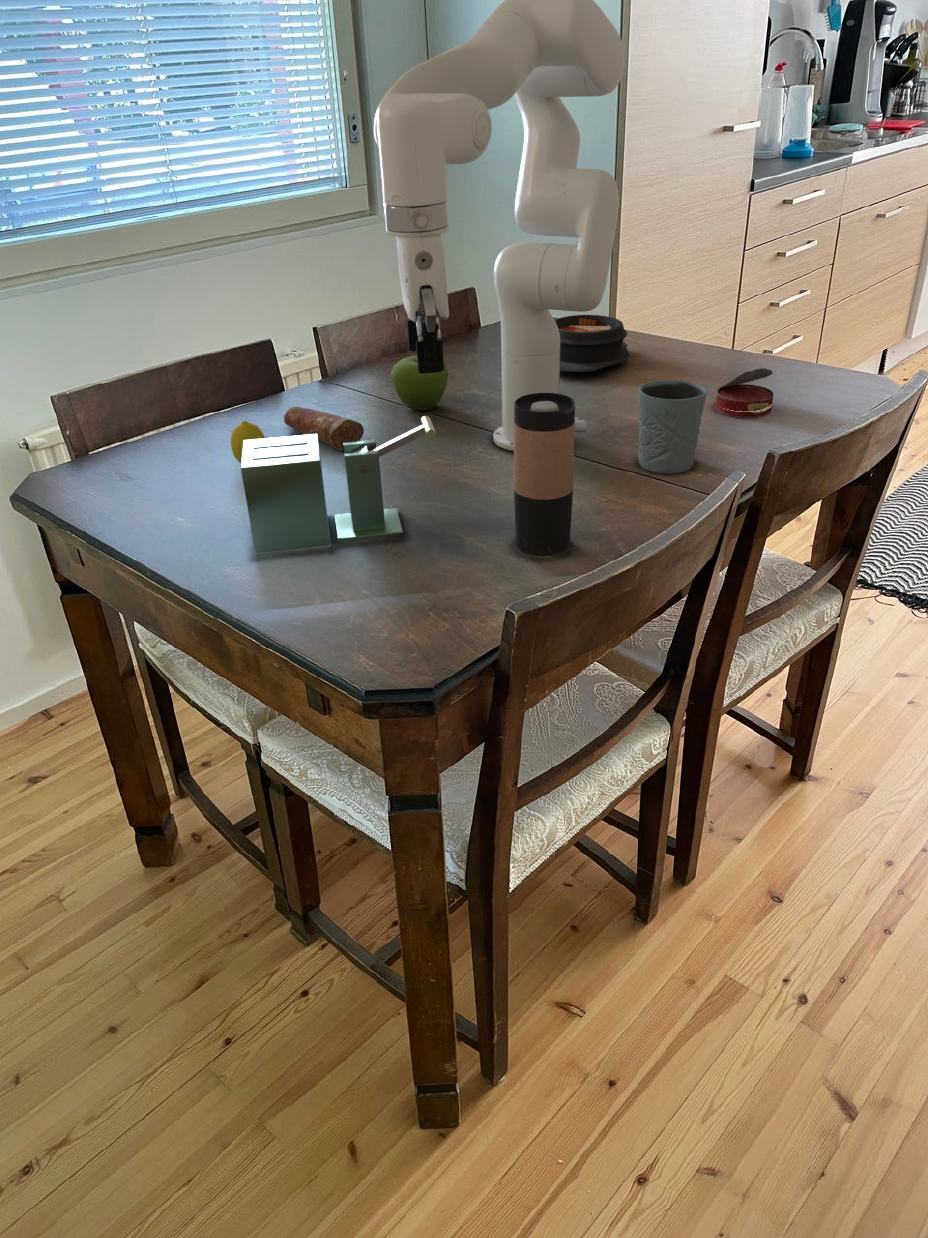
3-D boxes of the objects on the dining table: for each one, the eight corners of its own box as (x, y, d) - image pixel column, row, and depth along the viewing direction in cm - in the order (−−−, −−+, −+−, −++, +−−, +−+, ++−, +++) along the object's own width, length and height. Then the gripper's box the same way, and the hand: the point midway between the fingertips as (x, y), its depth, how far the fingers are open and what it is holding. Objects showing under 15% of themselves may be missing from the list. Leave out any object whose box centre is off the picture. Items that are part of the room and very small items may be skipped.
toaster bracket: (397, 515, 134) (391, 434, 127) (403, 539, 127) (397, 455, 121) (335, 521, 133) (325, 440, 126) (338, 546, 126) (328, 461, 120)
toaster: (328, 519, 133) (317, 432, 127) (331, 550, 125) (320, 459, 118) (257, 526, 132) (242, 439, 125) (255, 558, 124) (240, 467, 117)
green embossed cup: (628, 471, 145) (633, 396, 138) (640, 448, 153) (645, 376, 147) (693, 478, 142) (701, 401, 135) (703, 454, 150) (711, 381, 143)
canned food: (723, 440, 167) (701, 392, 163) (726, 415, 175) (706, 370, 171) (785, 416, 161) (764, 367, 157) (786, 392, 169) (766, 344, 165)
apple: (432, 394, 181) (429, 343, 175) (460, 408, 173) (459, 355, 168) (383, 406, 176) (379, 353, 171) (410, 420, 168) (407, 366, 163)
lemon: (275, 463, 153) (268, 416, 148) (258, 476, 148) (250, 428, 144) (246, 460, 154) (238, 413, 150) (228, 472, 150) (220, 425, 146)
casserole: (565, 344, 208) (566, 305, 204) (645, 352, 201) (648, 312, 196) (520, 375, 189) (520, 333, 185) (606, 385, 182) (608, 342, 177)
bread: (337, 457, 154) (333, 425, 151) (280, 429, 167) (275, 399, 164) (368, 447, 157) (365, 415, 154) (310, 420, 170) (306, 390, 167)
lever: (433, 425, 126) (426, 410, 125) (439, 439, 122) (431, 424, 121) (355, 464, 127) (347, 450, 126) (358, 480, 123) (349, 465, 122)
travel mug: (510, 536, 127) (509, 393, 116) (565, 532, 127) (569, 390, 117) (518, 562, 120) (517, 414, 110) (576, 558, 121) (581, 410, 110)
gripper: (459, 228, 104) (465, 378, 113) (437, 205, 118) (444, 339, 127) (392, 233, 103) (404, 384, 112) (378, 209, 117) (390, 344, 126)
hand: (426, 360), depth 120 cm, fingers open, 9 cm apart
